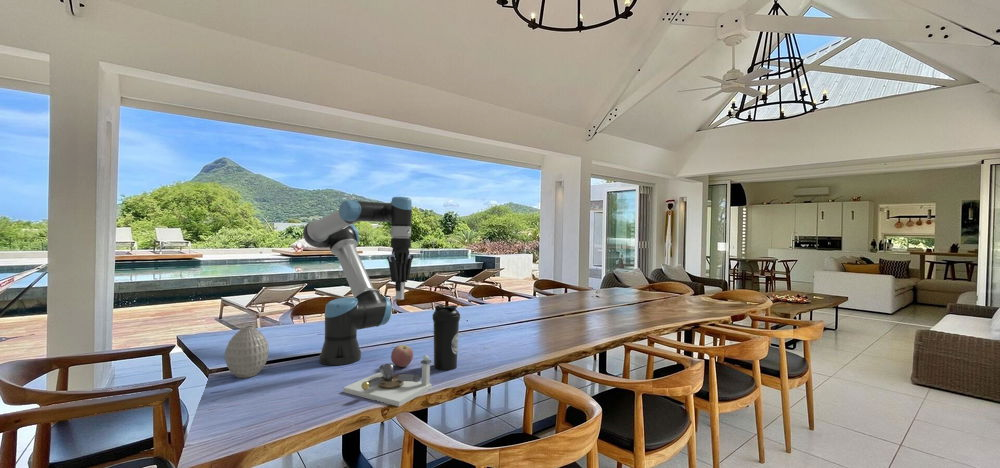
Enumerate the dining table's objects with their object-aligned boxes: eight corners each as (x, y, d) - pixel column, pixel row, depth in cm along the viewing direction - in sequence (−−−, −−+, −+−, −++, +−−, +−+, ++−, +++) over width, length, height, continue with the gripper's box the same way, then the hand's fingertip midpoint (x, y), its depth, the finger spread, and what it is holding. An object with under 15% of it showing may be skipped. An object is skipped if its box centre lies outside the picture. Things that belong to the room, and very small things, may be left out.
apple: (393, 371, 151) (394, 349, 151) (388, 365, 158) (389, 343, 158) (415, 368, 155) (415, 346, 154) (409, 362, 161) (410, 341, 161)
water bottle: (454, 372, 151) (455, 308, 151) (427, 369, 153) (428, 307, 153) (462, 363, 161) (463, 304, 161) (437, 361, 163) (438, 302, 163)
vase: (276, 371, 148) (277, 324, 148) (244, 383, 136) (245, 332, 136) (249, 366, 152) (250, 321, 152) (215, 378, 140) (216, 328, 140)
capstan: (382, 402, 120) (383, 380, 120) (342, 388, 130) (343, 367, 130) (421, 385, 133) (422, 365, 133) (383, 374, 143) (383, 355, 143)
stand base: (343, 392, 131) (344, 357, 131) (379, 376, 145) (379, 345, 145) (399, 406, 121) (399, 369, 121) (431, 388, 136) (432, 354, 135)
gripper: (397, 238, 152) (396, 302, 153) (419, 237, 164) (418, 297, 164) (381, 237, 156) (380, 300, 156) (404, 237, 167) (403, 296, 168)
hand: (399, 299), depth 160 cm, fingers closed
